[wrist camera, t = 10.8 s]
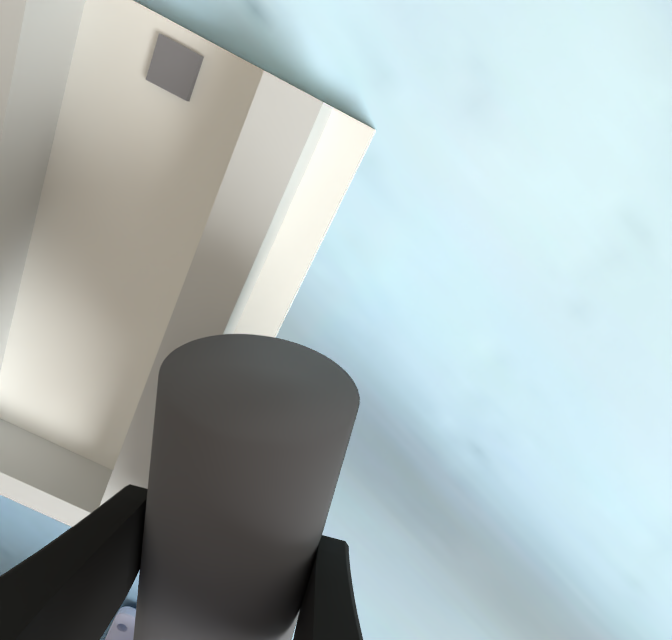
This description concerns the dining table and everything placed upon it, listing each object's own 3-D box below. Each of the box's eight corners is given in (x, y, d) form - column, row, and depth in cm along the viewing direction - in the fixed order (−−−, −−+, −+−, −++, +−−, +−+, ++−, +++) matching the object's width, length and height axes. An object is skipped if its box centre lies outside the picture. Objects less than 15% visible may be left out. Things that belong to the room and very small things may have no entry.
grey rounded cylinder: (299, 620, 14) (246, 778, 11) (182, 572, 15) (94, 707, 11) (374, 368, 11) (332, 474, 7) (219, 318, 12) (110, 394, 8)
